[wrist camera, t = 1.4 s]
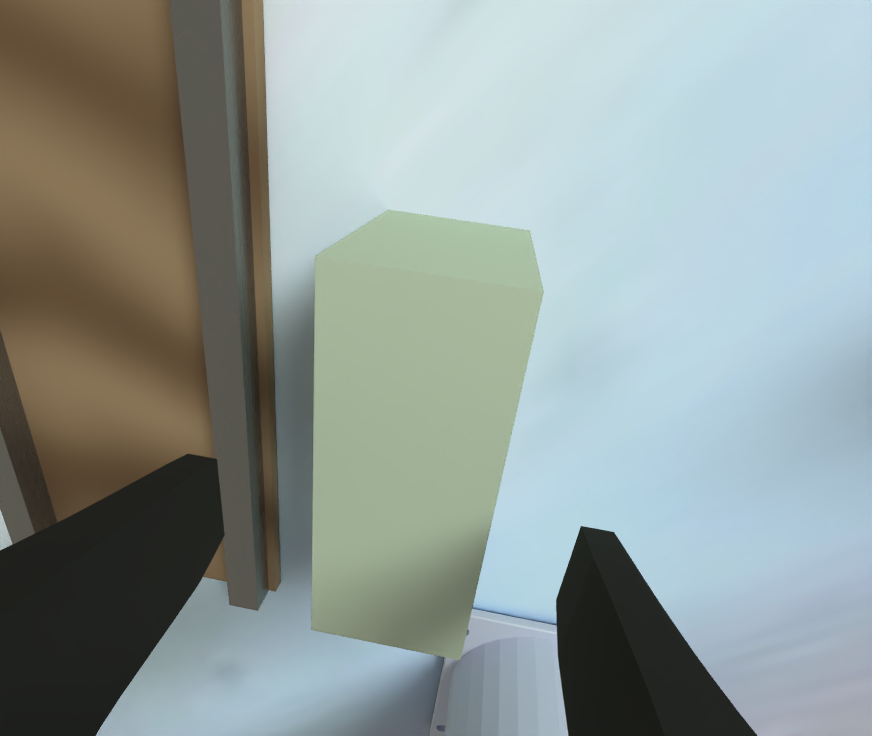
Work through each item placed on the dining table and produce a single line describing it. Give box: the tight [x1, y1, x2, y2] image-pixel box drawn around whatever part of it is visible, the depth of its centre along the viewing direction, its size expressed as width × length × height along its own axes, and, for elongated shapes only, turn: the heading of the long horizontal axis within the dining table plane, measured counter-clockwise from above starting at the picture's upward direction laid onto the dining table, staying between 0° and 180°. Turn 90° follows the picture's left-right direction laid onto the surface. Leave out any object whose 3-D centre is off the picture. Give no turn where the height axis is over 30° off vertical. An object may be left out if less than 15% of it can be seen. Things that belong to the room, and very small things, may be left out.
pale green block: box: [311, 210, 544, 660], centre depth 13 cm, size 10×4×6 cm, turn 173°
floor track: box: [0, 0, 281, 611], centre depth 16 cm, size 22×11×2 cm, turn 173°
